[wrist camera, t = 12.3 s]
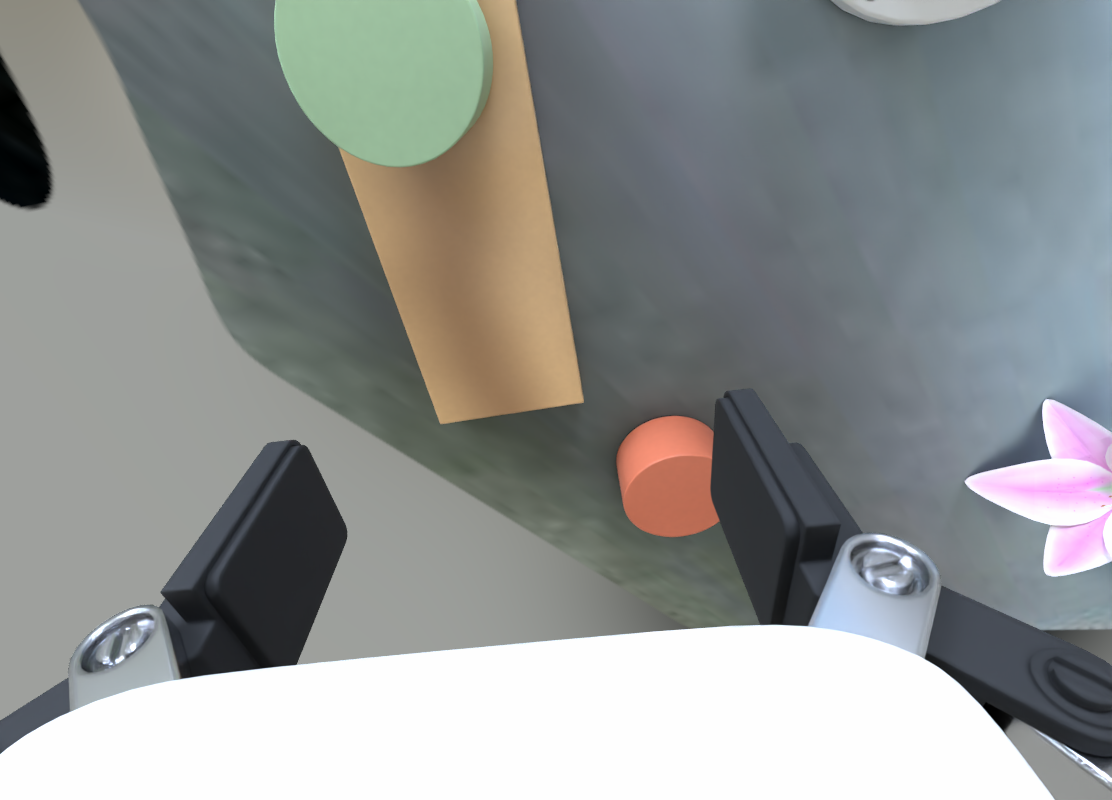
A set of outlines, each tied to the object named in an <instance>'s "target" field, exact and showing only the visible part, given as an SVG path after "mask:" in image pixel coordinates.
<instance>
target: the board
mask: <svg viewBox="0 0 1112 800" xmlns="http://www.w3.org/2000/svg"><path fill="white" fill-rule="evenodd" d="M477 2H478V4H479V6H480V8H481V10H482V12H483V15H484V17H485V20H486V23H487V26H488V30H489V34H490V38H491V43H492V51H493V75H492V84H491V88H490V93H489V96H488V99H487V102H486V105H485V107H484V109H483V111H482V113H481V115H480V116H479V118H478V119H477V121H476V122H475V124H474V125H473V126H472V127H471V129H470V130H469V131H468V132H467V133H466V134H465V135H464V136H463V137H462V138H461V139H460V140H459V141H458V142H457V143H456V144H455V145H454V146H453V147H451V148H450V149H449V150H448V151H446V152H445V153H444V154H442V155H441V156H439V157H437V158H435V159H434V160H431V161H429V162H426V163H424V164H420V165H416V166H411V167H386V166H381V165H376V164H373V163H370V162H366V161H363V160H361V159H359V158H357V157H355V156H353V155H351V154H349V153H347V152H346V151H344V150H343V149H341V148H339V150H340V152H341V155H342V158H343V161H344V163H345V166H346V169H347V171H348V174H349V177H350V180H351V182H352V185H353V188H354V190H355V193H356V196H357V199H358V201H359V204H360V207H361V209H362V212H363V215H364V218H365V220H366V223H367V226H368V228H369V231H370V234H371V237H372V239H373V242H374V245H375V247H376V250H377V253H378V256H379V258H380V261H381V264H382V266H383V269H384V272H385V275H386V277H387V280H388V283H389V285H390V288H391V291H392V294H393V296H394V299H395V302H396V304H397V307H398V310H399V313H400V315H401V318H402V321H403V323H404V326H405V329H406V332H407V334H408V337H409V340H410V342H411V345H412V348H413V351H414V353H415V356H416V359H417V361H418V364H419V367H420V370H421V372H422V375H423V378H424V380H425V383H426V386H427V389H428V391H429V394H430V397H431V399H432V402H433V405H434V408H435V410H436V413H437V416H438V418H439V421H440V424H445V423H452V422H458V421H465V420H472V419H478V418H485V417H491V416H498V415H505V414H511V413H518V412H524V411H531V410H538V409H544V408H551V407H557V406H564V405H571V404H577V403H583V402H584V400H583V391H582V384H581V378H580V372H579V366H578V360H577V354H576V349H575V343H574V337H573V331H572V325H571V319H570V313H569V307H568V301H567V296H566V290H565V284H564V278H563V272H562V266H561V260H560V254H559V249H558V243H557V237H556V231H555V225H554V219H553V213H552V207H551V202H550V196H549V190H548V184H547V178H546V172H545V166H544V160H543V155H542V149H541V143H540V137H539V131H538V125H537V119H536V113H535V108H534V102H533V96H532V90H531V84H530V78H529V72H528V66H527V61H526V55H525V49H524V43H523V37H522V31H521V25H520V19H519V14H518V8H517V2H516V0H477Z"/></svg>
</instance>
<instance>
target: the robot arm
mask: <svg viewBox="0 0 1112 800" xmlns="http://www.w3.org/2000/svg"><path fill="white" fill-rule="evenodd" d="M831 1H832V2H833V3H834V4H836V5H837V6H838V7H839V8H840V9H842V10H844V11H846V12H848V13H850V14H853V15H855V16H857V17H859V18H862V19H864V20H866V21H868V22H874V23H881V24H887V25H894V26H906V25H927V24H932V23H937V22H942V21H947V20H952V19H957V18H961V17H964V16H966V15H969V14H971V13H974V12H976V11H979V10H981V9H984V8H986V7H988V6H991V5H993V4H996V3H997V2H999V1H1001V0H831ZM710 492H711V498H712V502H713V505H714V508H715V510H716V513H717V515H718V518H719V520H720V523H721V526H722V528H723V531H724V533H725V536H726V538H727V541H728V543H729V546H730V548H731V551H732V554H733V556H734V559H735V561H736V564H737V566H738V569H739V571H740V574H741V576H742V579H743V582H744V584H745V587H746V589H747V592H748V594H749V597H750V599H751V602H752V605H753V607H754V610H755V612H756V615H757V617H758V620H759V622H760V625H748V626H726V627H712V628H698V629H685V630H672V631H671V630H670V631H657V632H645V633H633V634H622V635H611V636H600V637H588V638H576V639H566V640H554V641H544V642H531V643H521V644H510V645H499V646H489V647H477V648H468V649H456V650H447V651H435V652H424V653H414V654H403V655H393V656H383V657H373V658H362V659H352V660H342V661H332V662H323V663H312V664H302V665H297V662H298V660H299V657H300V655H301V652H302V650H303V647H304V645H305V642H306V640H307V637H308V635H309V632H310V630H311V627H312V625H313V623H314V620H315V618H316V615H317V612H318V610H319V608H320V605H321V603H322V600H323V598H324V595H325V593H326V590H327V588H328V585H329V583H330V580H331V578H332V575H333V573H334V570H335V568H336V566H337V563H338V561H339V558H340V556H341V553H342V551H343V548H344V546H345V543H346V540H347V528H346V525H345V523H344V521H343V519H342V516H341V515H340V512H339V510H338V508H337V506H336V504H335V502H334V500H333V498H332V496H331V494H330V492H329V490H328V488H327V486H326V484H325V482H324V479H323V478H322V476H321V473H320V472H319V469H318V467H317V465H316V463H315V461H314V459H313V457H312V455H311V453H310V451H309V449H308V448H307V447H306V446H305V445H301V444H300V443H299V442H298V441H296V440H287V441H279V442H271V443H268V444H267V445H266V446H265V447H264V448H263V450H262V451H261V452H260V454H259V455H258V456H257V458H256V459H255V461H254V462H253V463H252V465H251V466H250V468H249V469H248V470H247V472H246V473H245V475H244V476H243V477H242V479H241V480H240V482H239V483H238V484H237V486H236V487H235V489H234V490H233V491H232V493H231V494H230V496H229V497H228V499H227V500H226V501H225V503H224V504H223V505H222V507H221V508H220V509H219V511H218V513H217V514H216V515H215V516H214V518H213V519H212V521H211V522H210V523H209V525H208V526H207V528H206V529H205V530H204V532H203V533H202V535H201V536H200V537H199V539H198V540H197V542H196V543H195V545H194V546H193V547H192V549H191V550H190V551H189V553H188V554H187V556H186V557H185V558H184V560H183V561H182V563H181V564H180V565H179V567H178V568H177V570H176V571H175V572H174V574H173V575H172V577H171V578H170V579H169V581H168V582H167V584H166V585H165V586H164V588H163V589H162V591H161V594H162V595H163V596H164V597H165V600H164V601H163V603H162V604H161V606H160V607H157V606H154V605H140V606H136V607H133V608H129V609H127V610H124V611H122V612H120V613H118V614H116V615H114V616H112V617H111V618H109V619H108V620H106V621H105V622H103V623H101V624H100V625H99V626H98V627H97V628H95V629H94V630H93V631H92V632H91V633H90V634H88V635H87V636H86V637H85V639H84V640H83V641H82V642H81V643H80V644H79V645H78V647H77V648H76V650H75V652H74V654H73V656H72V657H71V659H70V663H69V668H68V674H69V675H68V676H69V677H68V678H67V679H65V680H64V681H62V682H61V683H59V684H57V685H56V686H54V687H53V688H51V689H50V690H48V691H46V692H45V693H43V694H42V695H40V696H38V697H37V698H36V699H34V700H32V701H31V702H29V703H27V704H26V705H24V706H23V707H21V708H20V709H18V710H16V711H15V712H13V713H12V714H10V715H9V716H7V717H5V718H4V719H2V720H0V800H1112V666H1111V665H1110V664H1109V663H1107V662H1106V661H1104V660H1103V659H1101V658H1099V657H1097V656H1095V655H1093V654H1091V653H1090V652H1088V651H1086V650H1084V649H1082V648H1079V647H1077V646H1075V645H1073V644H1070V643H1068V642H1066V641H1064V640H1062V639H1059V638H1057V637H1055V636H1053V635H1050V634H1048V633H1045V632H1044V631H1041V630H1039V629H1037V628H1035V627H1033V626H1030V625H1028V624H1026V623H1024V622H1021V621H1019V620H1017V619H1015V618H1012V617H1010V616H1008V615H1006V614H1004V613H1001V612H999V611H997V610H995V609H992V608H990V607H988V606H986V605H983V604H981V603H979V602H977V601H975V600H972V599H970V598H968V597H966V596H963V595H961V594H959V593H957V592H954V591H952V590H950V589H948V588H946V587H943V586H941V575H940V573H939V571H938V569H937V567H936V564H935V563H934V562H933V561H932V560H931V559H930V558H929V557H928V555H927V554H926V553H924V552H923V551H922V550H920V549H919V548H917V547H916V546H915V545H913V544H911V543H909V542H907V541H905V540H903V539H900V538H898V537H895V536H891V535H887V534H883V533H862V531H861V530H860V528H859V527H858V525H857V524H856V522H855V521H854V519H853V518H852V517H851V515H850V514H849V512H848V511H847V509H846V508H845V506H844V505H843V503H842V502H841V501H840V499H839V498H838V496H837V495H836V493H835V492H834V490H833V489H832V487H831V486H830V484H829V483H828V482H827V480H826V479H825V477H824V476H823V474H822V473H821V471H820V470H819V468H818V467H817V466H816V464H815V463H814V461H813V460H812V458H811V457H810V455H809V454H808V452H807V451H806V450H805V448H804V447H803V446H802V445H801V444H799V443H788V441H787V440H786V438H785V437H784V435H783V434H782V432H781V430H780V429H779V427H778V426H777V424H776V423H775V421H774V420H773V418H772V417H771V415H770V414H769V412H768V411H767V409H766V408H765V406H764V404H763V403H762V401H761V400H760V398H759V397H758V395H757V394H756V392H755V391H754V390H753V389H751V388H750V389H741V390H732V391H726V392H725V394H724V398H719V399H717V400H716V404H715V420H714V436H713V452H712V468H711V484H710Z"/></svg>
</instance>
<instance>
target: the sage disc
mask: <svg viewBox="0 0 1112 800" xmlns="http://www.w3.org/2000/svg"><path fill="white" fill-rule="evenodd" d="M274 28H275V39H276V46H277V51H278V56H279V60H280V63H281V66H282V69H283V73H284V75H285V78H286V80H287V82H288V85H289V87H290V89H291V91H292V93H293V95H294V97H295V98H296V100H297V102H298V104H299V105H300V107H301V108H302V110H303V111H304V113H305V114H306V115H307V117H308V118H309V119H310V120H311V122H312V123H313V124H314V125H315V126H316V128H317V129H318V130H319V131H321V132H322V133H323V134H324V135H325V136H326V137H327V138H328V139H329V140H330V141H332V142H333V143H334V144H335V145H337V146H338V147H339V148H341V149H343V150H344V151H346V152H347V153H349V154H351V155H353V156H355V157H357V158H359V159H361V160H363V161H366V162H370V163H373V164H376V165H381V166H386V167H411V166H416V165H420V164H424V163H426V162H429V161H431V160H434V159H435V158H437V157H439V156H441V155H442V154H444V153H445V152H446V151H448V150H449V149H450V148H451V147H453V146H454V145H455V144H456V143H457V142H458V141H459V140H460V139H461V138H462V137H463V136H464V135H465V134H466V133H467V132H468V131H469V130H470V129H471V127H472V126H473V125H474V124H475V122H476V121H477V119H478V118H479V116H480V115H481V113H482V111H483V109H484V107H485V105H486V102H487V99H488V96H489V93H490V88H491V84H492V75H493V51H492V43H491V38H490V34H489V30H488V26H487V23H486V20H485V17H484V15H483V12H482V10H481V8H480V6H479V4H478V2H477V0H276V4H275V16H274Z"/></svg>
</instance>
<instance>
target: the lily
mask: <svg viewBox="0 0 1112 800" xmlns="http://www.w3.org/2000/svg"><path fill="white" fill-rule="evenodd" d="M1042 415H1043V425H1044V432H1045V437H1046V442H1047V446H1048V449H1049V452H1050V455H1051V457H1052V459H1048V460H1040V461H1033V462H1028V463H1024V464H1019V465H1014V466H1009V467H1004V468H1000V469H995V470H991V471H987V472H983V473H978V474H976V475H973V476H971V477H968V478H967V480H966V481H965V483H966V484H967V486H968V487H969V488H970V489H972V490H973V491H974V492H976V493H977V494H979V495H981V496H983V497H984V498H986V499H988V500H990V501H992V502H994V503H996V504H998V505H1000V506H1002V507H1004V508H1006V509H1008V510H1011V511H1013V512H1015V513H1017V514H1020V515H1022V516H1025V517H1027V518H1029V519H1032V520H1035V521H1038V522H1042V523H1046V524H1050V525H1051V526H1050V529H1049V532H1048V535H1047V540H1046V545H1045V550H1044V561H1043V564H1044V571H1045V573H1046V574H1047V575H1049V576H1063V575H1068V574H1073V573H1077V572H1082V571H1085V570H1088V569H1092V568H1095V567H1099V566H1101V565H1104V564H1106V563H1109V562H1111V561H1112V432H1110V431H1109V430H1107V429H1106V428H1104V427H1102V426H1101V425H1099V424H1098V423H1096V422H1094V421H1093V420H1091V419H1089V418H1087V417H1086V416H1084V415H1082V414H1081V413H1079V412H1077V411H1075V410H1073V409H1071V408H1069V407H1068V406H1066V405H1064V404H1061V403H1059V402H1057V401H1055V400H1050V399H1046V400H1045V401H1044V403H1043V410H1042Z"/></svg>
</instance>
